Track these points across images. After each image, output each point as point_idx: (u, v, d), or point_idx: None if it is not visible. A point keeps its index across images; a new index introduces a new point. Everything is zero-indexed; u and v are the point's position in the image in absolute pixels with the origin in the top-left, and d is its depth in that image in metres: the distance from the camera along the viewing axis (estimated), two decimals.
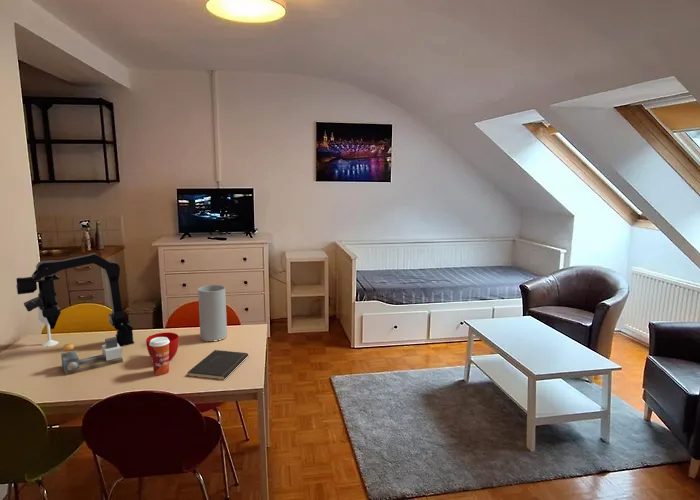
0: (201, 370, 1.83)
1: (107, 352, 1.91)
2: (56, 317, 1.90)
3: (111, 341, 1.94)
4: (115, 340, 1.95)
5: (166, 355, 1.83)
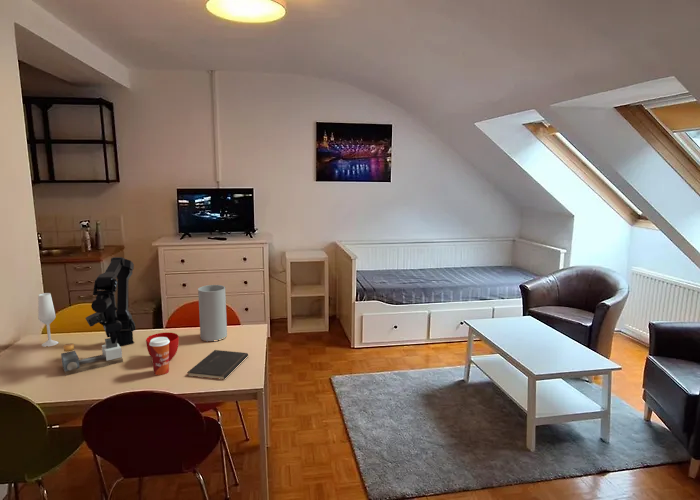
0: (201, 370, 1.83)
1: (107, 352, 1.91)
2: (117, 332, 1.90)
3: None
4: None
5: (166, 355, 1.83)
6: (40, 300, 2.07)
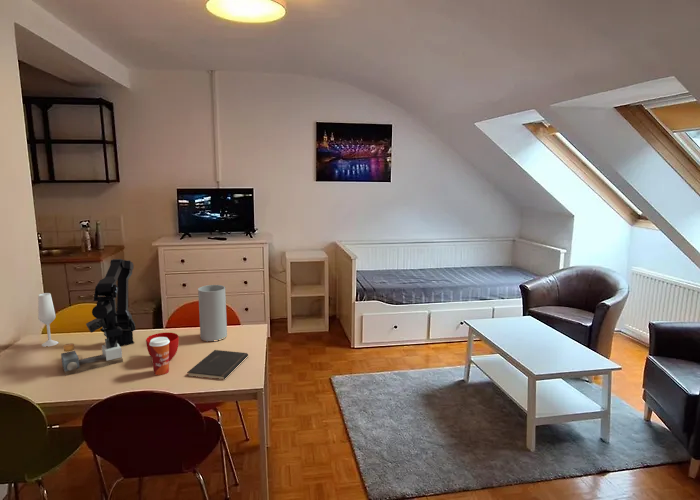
0: (201, 370, 1.83)
1: (107, 352, 1.91)
2: (116, 336, 1.93)
3: None
4: None
5: (166, 355, 1.83)
6: (40, 300, 2.07)
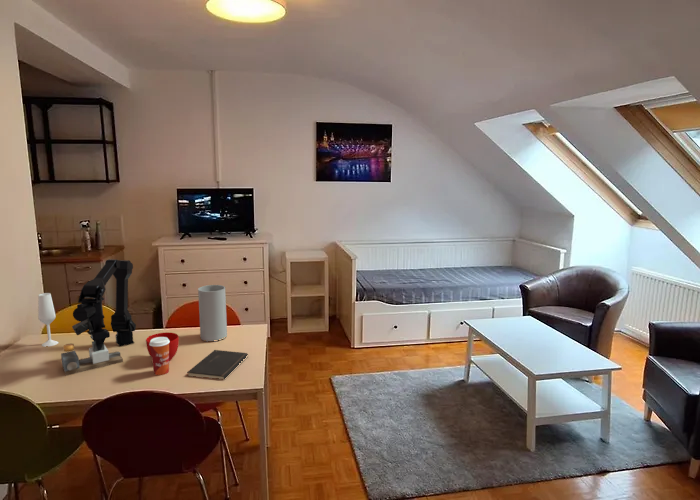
0: (201, 370, 1.83)
1: (94, 355, 1.88)
2: (103, 338, 1.90)
3: None
4: None
5: (166, 355, 1.83)
6: (40, 300, 2.07)
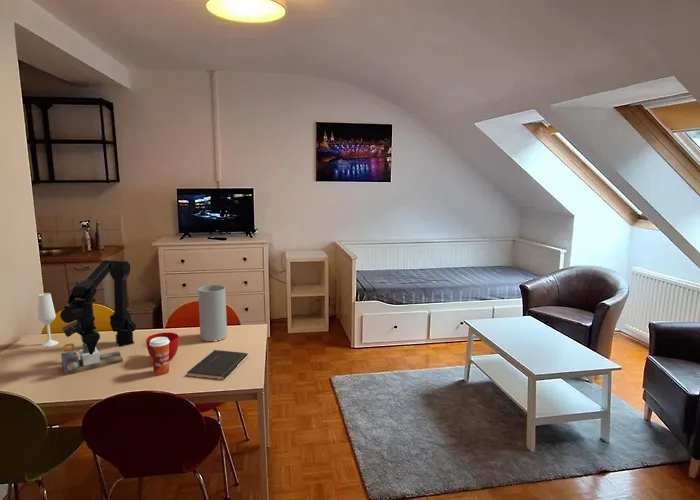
0: (201, 370, 1.83)
1: (84, 357, 1.86)
2: (95, 342, 1.85)
3: None
4: None
5: (166, 355, 1.83)
6: (40, 300, 2.07)
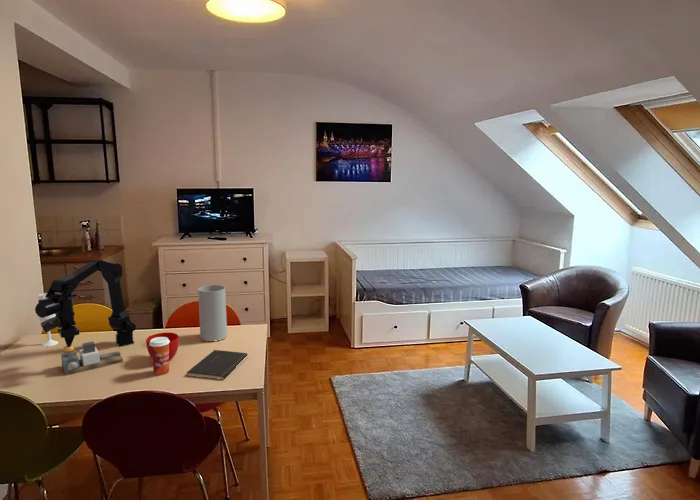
0: (200, 370, 1.83)
1: (84, 357, 1.86)
2: None
3: (89, 346, 1.88)
4: (93, 345, 1.89)
5: (166, 355, 1.83)
6: None
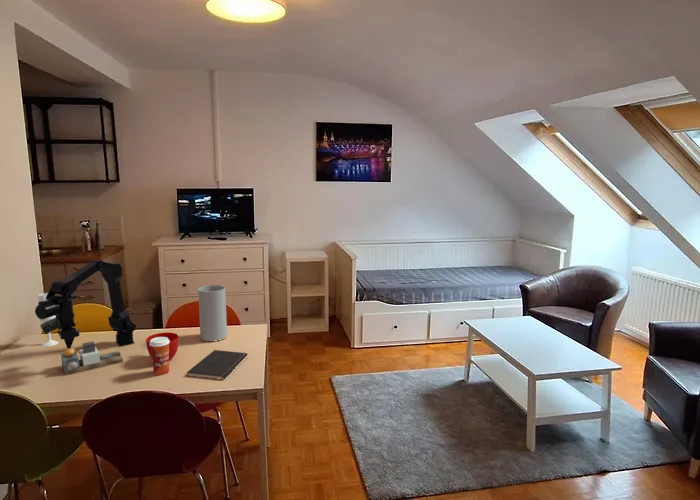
0: (200, 370, 1.83)
1: (84, 357, 1.86)
2: (73, 336, 1.84)
3: (89, 346, 1.88)
4: (93, 345, 1.89)
5: (166, 355, 1.83)
6: (40, 300, 2.07)
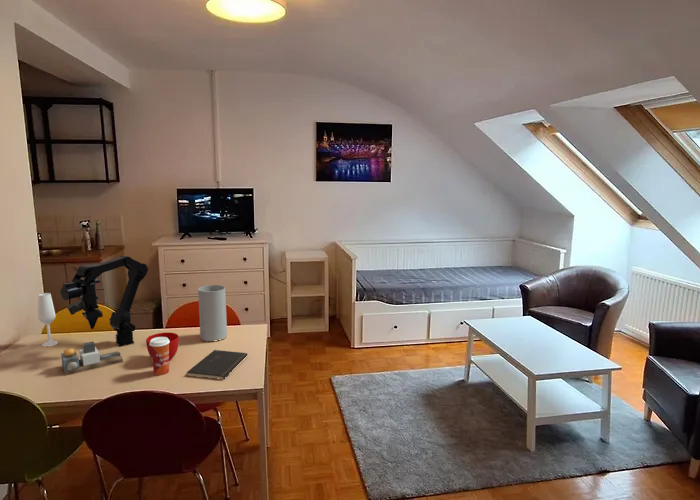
0: (200, 370, 1.83)
1: (84, 357, 1.86)
2: (96, 317, 1.98)
3: (89, 346, 1.88)
4: (93, 345, 1.89)
5: (166, 355, 1.83)
6: (40, 300, 2.07)
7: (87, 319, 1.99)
